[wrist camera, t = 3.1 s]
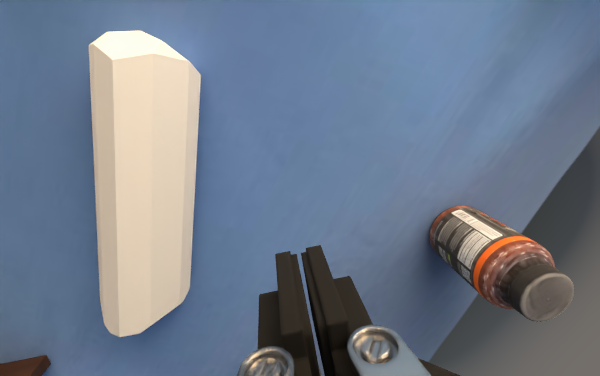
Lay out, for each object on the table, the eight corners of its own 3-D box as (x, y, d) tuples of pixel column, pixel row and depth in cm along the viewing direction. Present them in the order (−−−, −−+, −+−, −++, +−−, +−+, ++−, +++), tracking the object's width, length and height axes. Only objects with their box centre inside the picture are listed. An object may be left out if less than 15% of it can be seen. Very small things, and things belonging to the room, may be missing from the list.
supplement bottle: (492, 225, 33) (604, 292, 22) (450, 265, 34) (539, 348, 23) (458, 191, 31) (561, 245, 20) (415, 234, 32) (492, 307, 21)
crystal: (202, 332, 28) (222, 42, 21) (108, 364, 24) (95, 13, 17) (177, 286, 33) (187, 45, 27) (98, 305, 29) (85, 24, 22)
